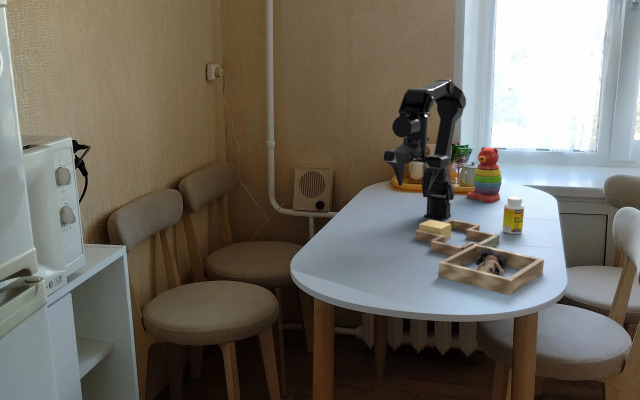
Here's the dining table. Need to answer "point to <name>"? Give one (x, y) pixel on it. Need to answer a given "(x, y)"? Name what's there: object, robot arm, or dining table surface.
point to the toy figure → (491, 261)
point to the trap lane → (470, 228)
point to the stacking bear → (487, 177)
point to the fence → (457, 272)
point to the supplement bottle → (513, 215)
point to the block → (436, 228)
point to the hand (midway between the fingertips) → (414, 187)
